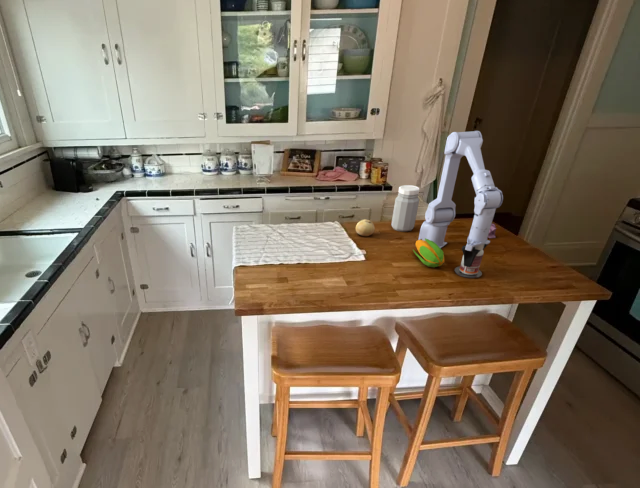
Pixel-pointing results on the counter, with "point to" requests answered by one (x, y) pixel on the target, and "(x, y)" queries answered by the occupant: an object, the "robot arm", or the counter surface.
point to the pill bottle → (476, 263)
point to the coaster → (458, 272)
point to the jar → (405, 208)
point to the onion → (365, 227)
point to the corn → (430, 253)
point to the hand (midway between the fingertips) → (470, 263)
